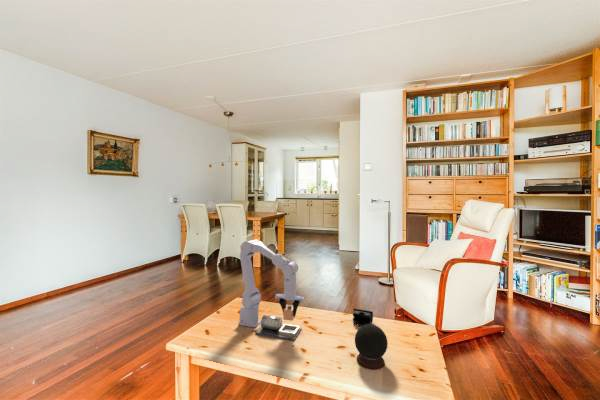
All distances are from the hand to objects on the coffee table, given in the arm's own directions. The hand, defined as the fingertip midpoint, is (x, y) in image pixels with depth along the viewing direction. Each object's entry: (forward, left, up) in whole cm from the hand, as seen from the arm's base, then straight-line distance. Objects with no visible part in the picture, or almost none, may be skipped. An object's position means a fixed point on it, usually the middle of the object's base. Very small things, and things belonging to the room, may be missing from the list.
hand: (289, 314), depth 142 cm
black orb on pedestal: (+39, -12, -10) cm, 42 cm away
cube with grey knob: (0, 0, -2) cm, 2 cm away
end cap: (+33, +24, -10) cm, 42 cm away
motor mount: (-6, 0, -9) cm, 11 cm away
